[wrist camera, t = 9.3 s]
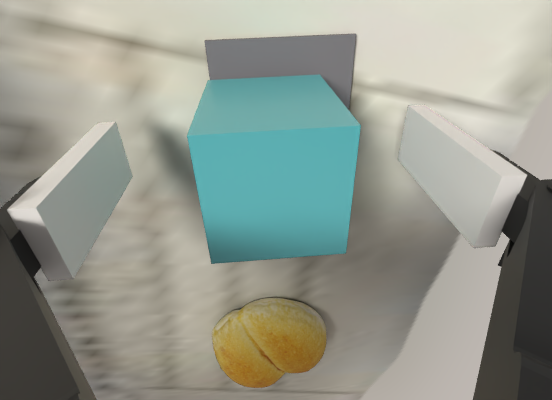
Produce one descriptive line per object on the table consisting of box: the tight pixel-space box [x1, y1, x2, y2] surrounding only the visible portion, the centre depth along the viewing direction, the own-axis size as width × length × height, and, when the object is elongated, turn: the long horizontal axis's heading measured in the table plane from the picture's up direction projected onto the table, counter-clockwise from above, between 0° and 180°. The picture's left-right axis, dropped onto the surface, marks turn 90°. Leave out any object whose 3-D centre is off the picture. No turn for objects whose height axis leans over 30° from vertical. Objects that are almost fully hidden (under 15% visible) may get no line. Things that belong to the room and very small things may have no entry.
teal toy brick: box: [187, 74, 361, 264], centre depth 14 cm, size 5×5×7 cm
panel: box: [205, 34, 356, 110], centre depth 17 cm, size 7×6×1 cm
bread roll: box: [212, 297, 326, 388], centre depth 26 cm, size 8×9×4 cm
